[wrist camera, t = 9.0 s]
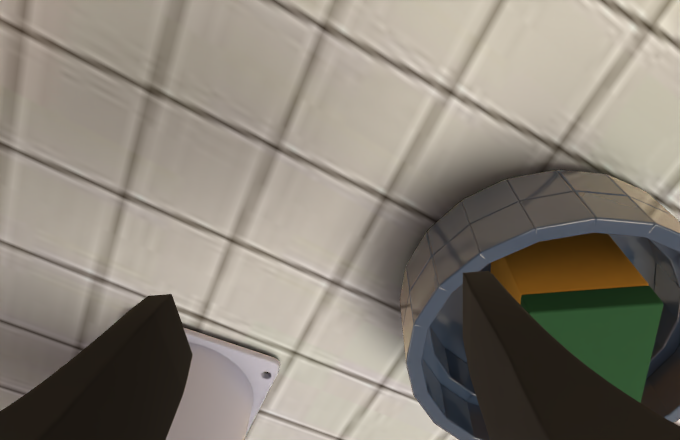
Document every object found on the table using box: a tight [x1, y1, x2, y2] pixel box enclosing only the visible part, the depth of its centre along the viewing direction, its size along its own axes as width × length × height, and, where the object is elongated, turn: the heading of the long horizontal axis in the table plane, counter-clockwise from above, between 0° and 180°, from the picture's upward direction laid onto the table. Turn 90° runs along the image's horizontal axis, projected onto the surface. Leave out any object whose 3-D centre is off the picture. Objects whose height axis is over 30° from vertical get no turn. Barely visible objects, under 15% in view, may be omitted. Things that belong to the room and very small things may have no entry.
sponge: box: [491, 233, 663, 403], centre depth 20 cm, size 8×4×6 cm, turn 7°
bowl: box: [400, 170, 680, 440], centre depth 21 cm, size 12×12×4 cm
